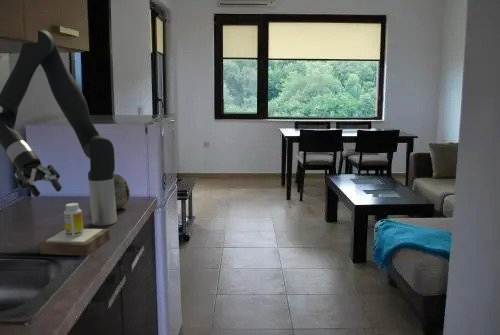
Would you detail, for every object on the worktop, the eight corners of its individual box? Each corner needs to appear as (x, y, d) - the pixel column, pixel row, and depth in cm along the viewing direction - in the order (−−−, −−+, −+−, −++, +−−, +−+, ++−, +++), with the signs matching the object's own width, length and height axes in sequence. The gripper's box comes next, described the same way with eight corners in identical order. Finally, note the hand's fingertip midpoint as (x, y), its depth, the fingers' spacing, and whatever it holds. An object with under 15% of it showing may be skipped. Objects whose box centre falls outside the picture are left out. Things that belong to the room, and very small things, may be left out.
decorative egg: (96, 211, 204) (94, 176, 201) (112, 204, 215) (109, 171, 212) (121, 213, 201) (119, 177, 198) (135, 206, 212) (133, 172, 209)
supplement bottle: (85, 231, 163) (82, 201, 161) (81, 236, 158) (78, 206, 156) (68, 232, 163) (65, 202, 161) (63, 237, 157) (60, 206, 156)
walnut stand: (66, 237, 170) (65, 226, 169) (109, 239, 167) (108, 227, 167) (40, 253, 154) (38, 241, 154) (87, 255, 152) (86, 243, 151)
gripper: (8, 152, 159) (35, 190, 155) (45, 146, 171) (71, 181, 167) (0, 167, 162) (26, 204, 159) (36, 160, 174) (61, 195, 171)
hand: (49, 192), depth 163 cm, fingers open, 8 cm apart
